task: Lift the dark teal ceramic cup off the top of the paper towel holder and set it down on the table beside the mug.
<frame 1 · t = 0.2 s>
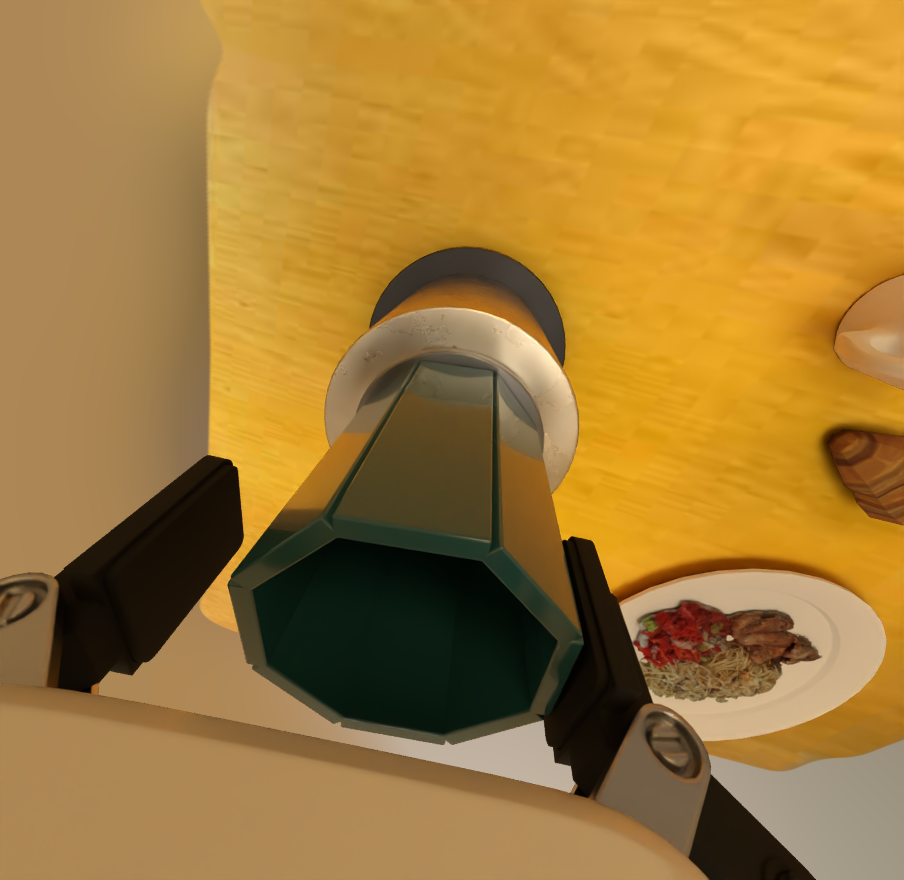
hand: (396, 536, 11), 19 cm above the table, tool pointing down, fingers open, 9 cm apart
teal cup: (446, 445, 16), point 14 cm above the table, touching towel holder
towel holder: (465, 353, 28), on the table
plated food: (705, 652, 42), on the table
mug: (859, 325, 25), on the table
croissant: (884, 468, 30), on the table
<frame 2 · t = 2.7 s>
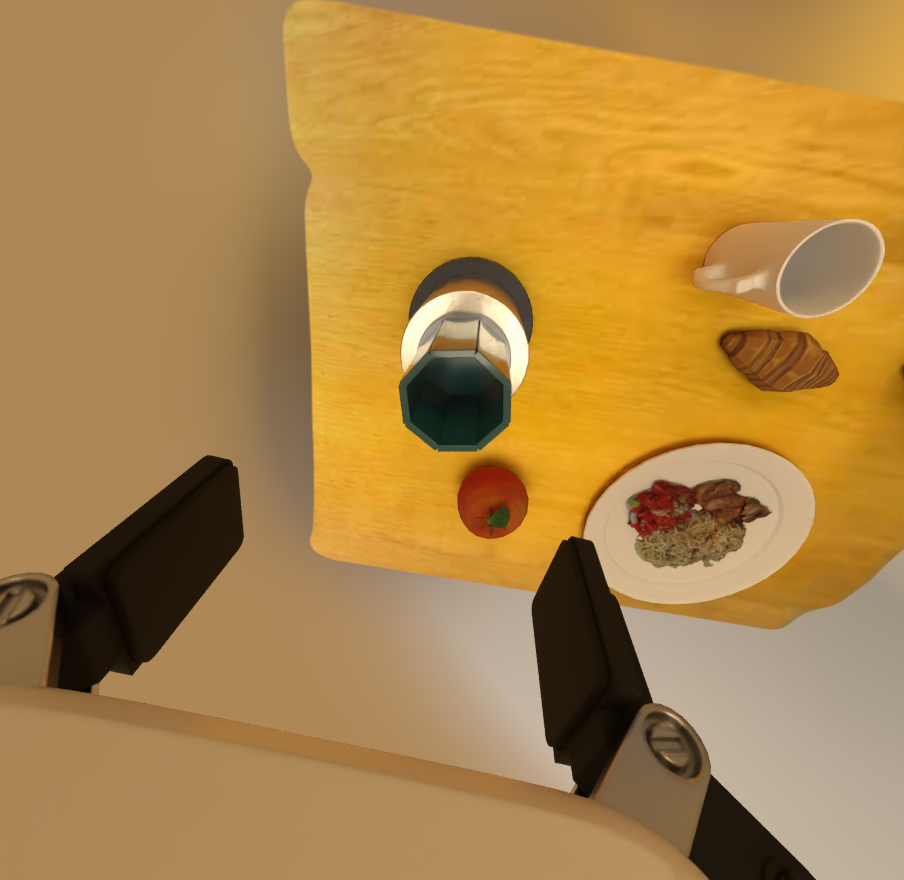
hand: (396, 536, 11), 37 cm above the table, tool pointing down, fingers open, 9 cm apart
teal cup: (463, 360, 32), point 14 cm above the table, touching towel holder
towel holder: (470, 323, 44), on the table
plated food: (685, 524, 55), on the table
mug: (717, 262, 39), on the table
croissant: (769, 356, 43), on the table
fruit: (491, 482, 55), on the table
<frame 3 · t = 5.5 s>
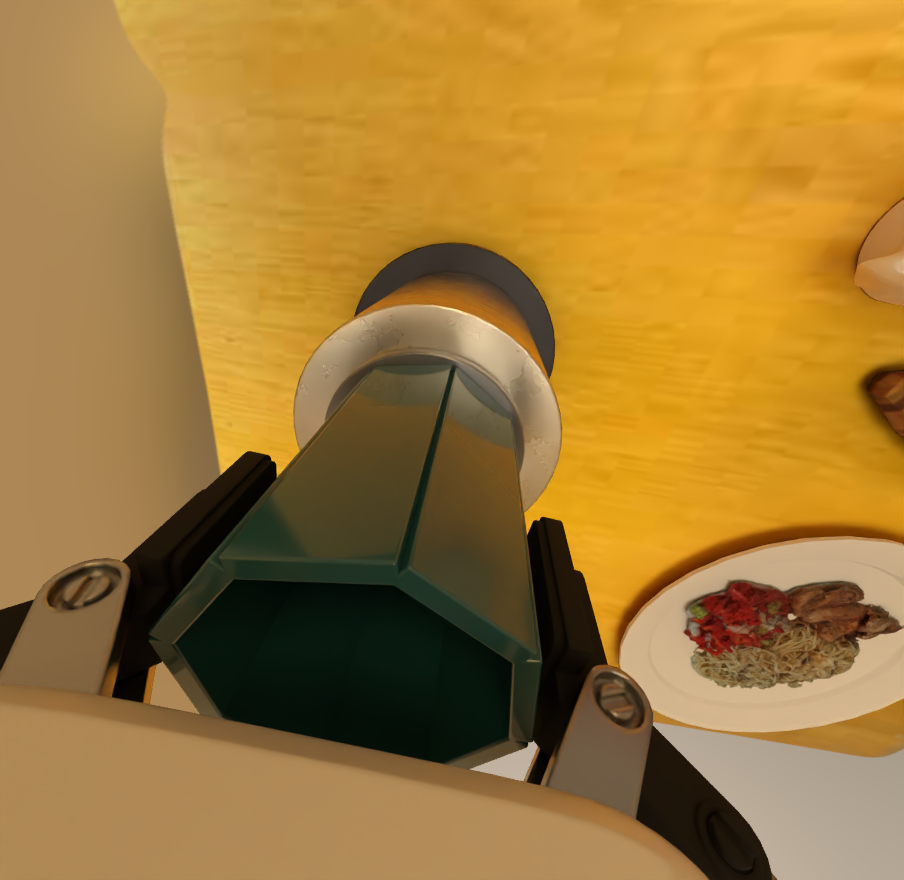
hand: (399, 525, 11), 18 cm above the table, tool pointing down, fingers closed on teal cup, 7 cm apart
teal cup: (422, 450, 15), point 14 cm above the table, touching gripper, towel holder
towel holder: (452, 352, 27), on the table
plated food: (767, 634, 39), on the table
mug: (882, 252, 22), on the table
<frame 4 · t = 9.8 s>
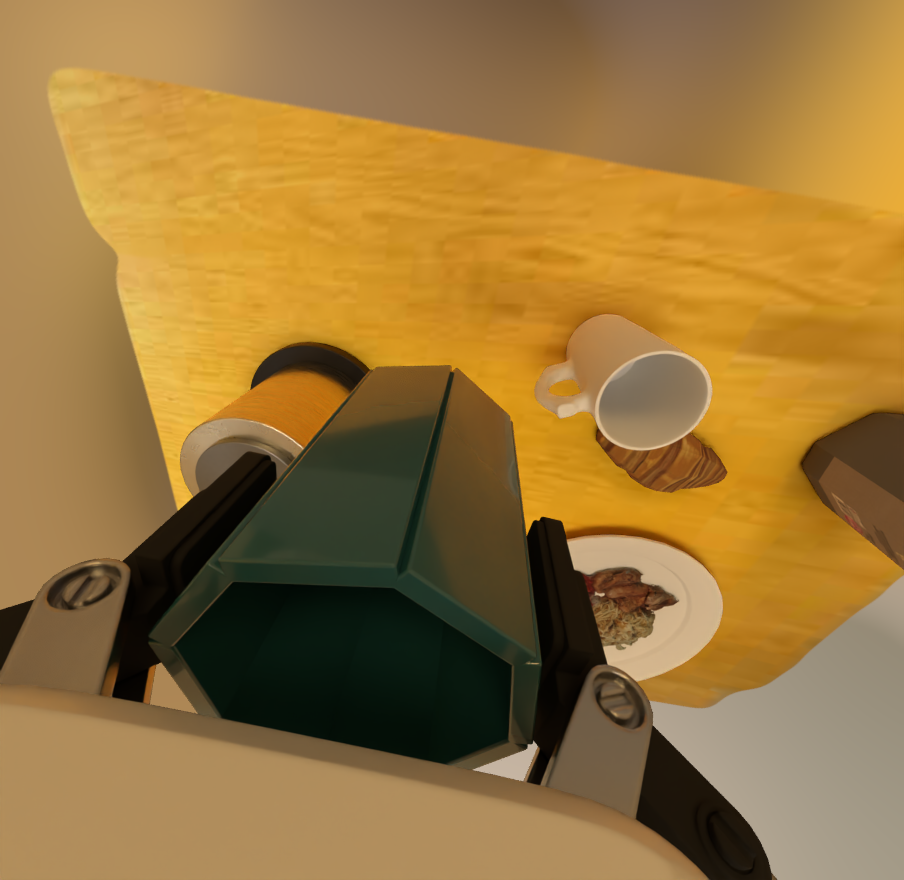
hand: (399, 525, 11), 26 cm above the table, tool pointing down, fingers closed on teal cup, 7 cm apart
teal cup: (422, 451, 15), point 22 cm above the table, touching gripper
towel holder: (323, 409, 39), on the table
plated food: (592, 608, 51), on the table
mug: (582, 352, 34), on the table
liquor: (856, 455, 37), on the table
croissant: (654, 447, 38), on the table
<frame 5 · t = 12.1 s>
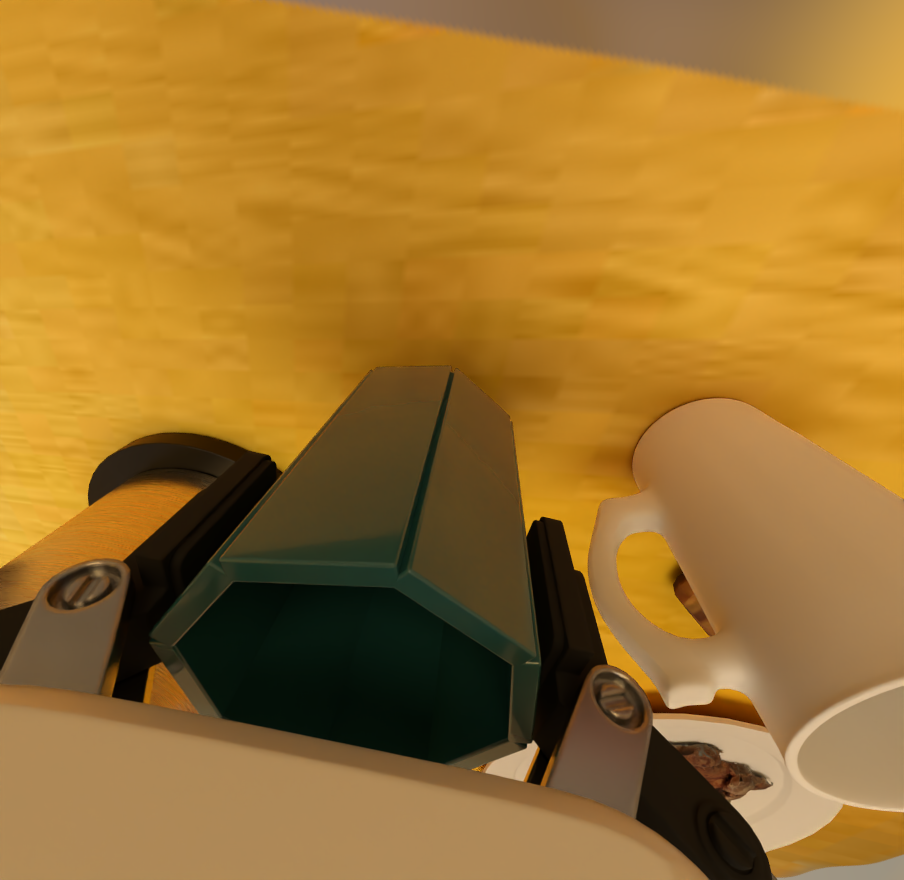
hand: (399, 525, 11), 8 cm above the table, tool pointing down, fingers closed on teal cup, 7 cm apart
teal cup: (422, 451, 15), point 4 cm above the table, touching gripper
towel holder: (219, 529, 24), on the table
plated food: (638, 776, 36), on the table
mug: (660, 458, 19), on the table
croissant: (767, 598, 23), on the table
when the fingers open (4 cm above the table, at t = 13.9 s): teal cup stays where it is, on the table.
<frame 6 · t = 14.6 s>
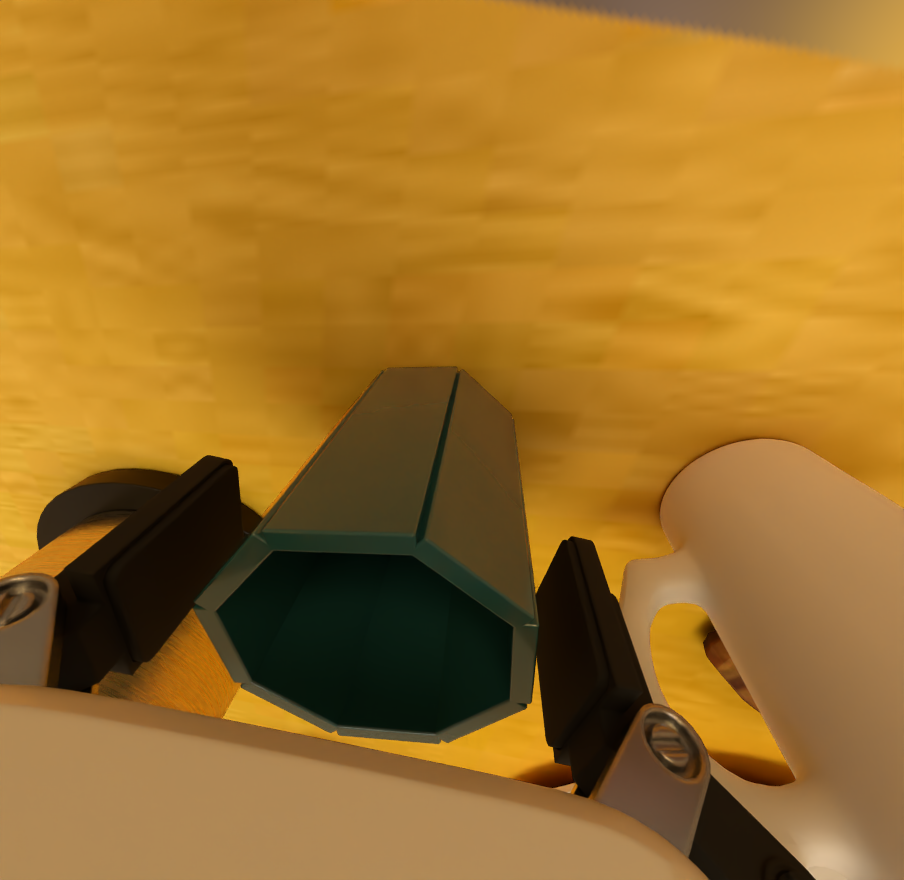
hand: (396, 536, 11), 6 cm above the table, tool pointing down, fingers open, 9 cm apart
teal cup: (428, 447, 16), on the table
towel holder: (189, 573, 21), on the table
plated food: (654, 831, 32), on the table
mug: (693, 504, 16), on the table
croissant: (810, 656, 20), on the table
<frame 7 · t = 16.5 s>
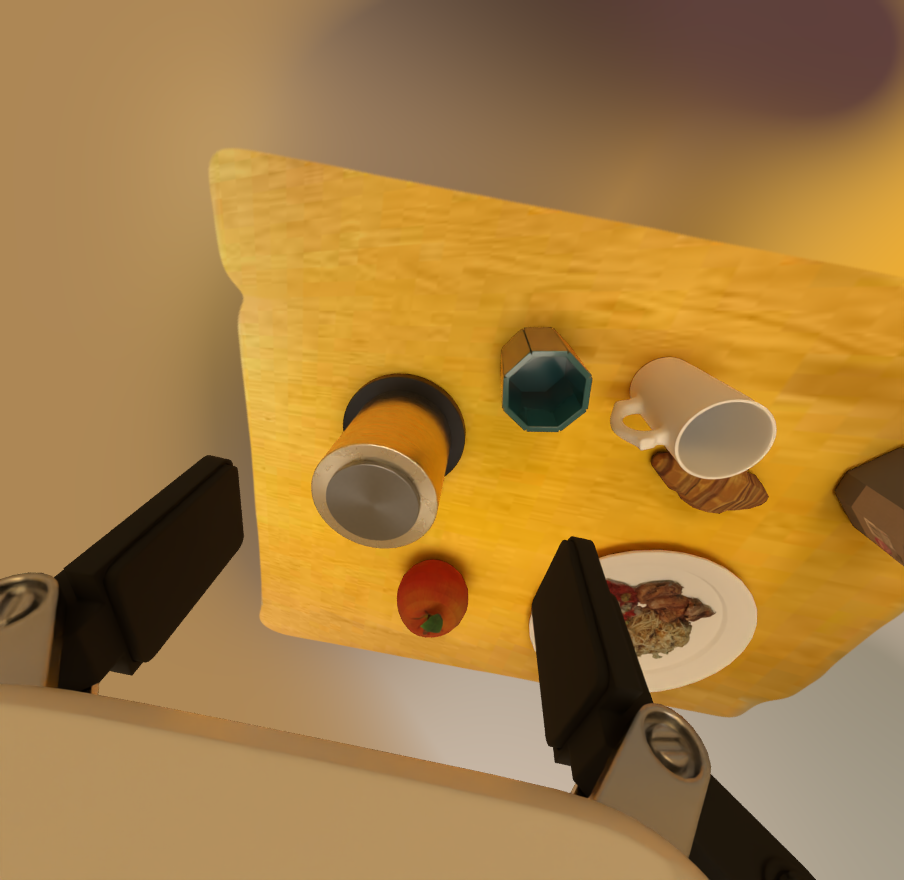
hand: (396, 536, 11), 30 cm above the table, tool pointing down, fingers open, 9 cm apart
teal cup: (535, 362, 39), on the table
towel holder: (405, 431, 44), on the table
plated food: (632, 618, 55), on the table
mug: (643, 388, 39), on the table
liquor: (883, 484, 41), on the table
croissant: (702, 472, 43), on the table
fruit: (436, 571, 54), on the table
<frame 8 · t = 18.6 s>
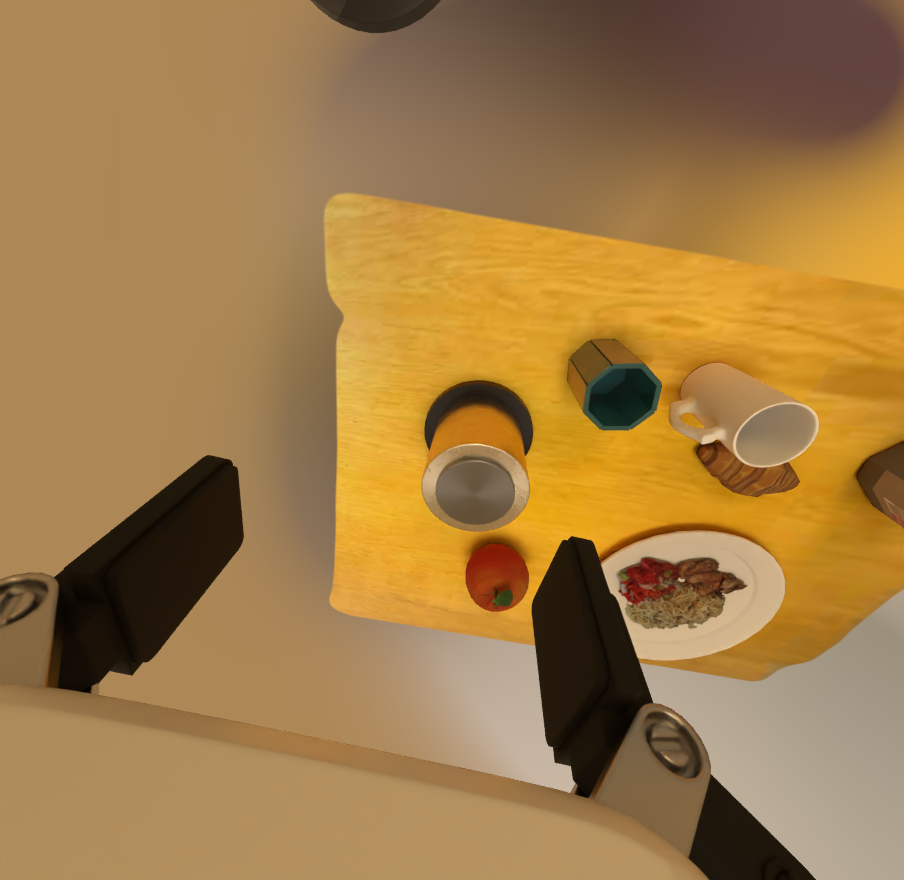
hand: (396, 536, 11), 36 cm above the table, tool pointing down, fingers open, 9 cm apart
teal cup: (598, 368, 44), on the table
towel holder: (478, 430, 50), on the table
plated food: (671, 592, 61), on the table
mug: (692, 389, 45), on the table
liquor: (899, 468, 47), on the table
croissant: (740, 461, 49), on the table
fruit: (495, 554, 61), on the table
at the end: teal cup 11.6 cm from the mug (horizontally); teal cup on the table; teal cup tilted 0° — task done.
